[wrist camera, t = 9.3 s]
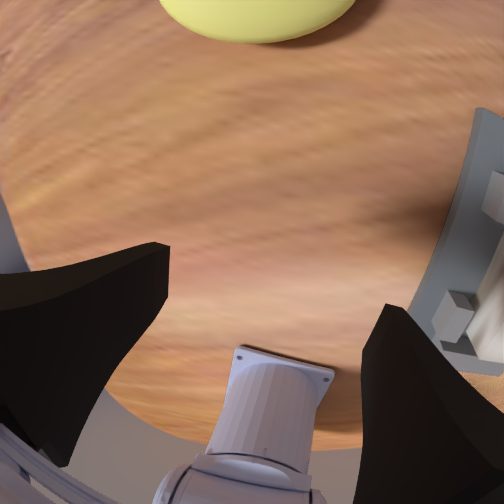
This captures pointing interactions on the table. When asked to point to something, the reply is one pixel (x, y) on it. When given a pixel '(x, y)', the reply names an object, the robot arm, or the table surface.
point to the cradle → (465, 249)
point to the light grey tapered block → (489, 311)
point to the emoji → (255, 18)
